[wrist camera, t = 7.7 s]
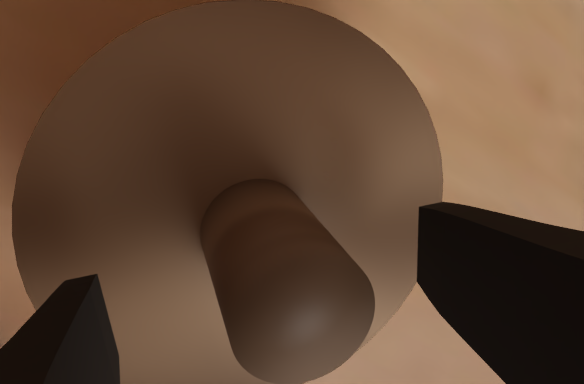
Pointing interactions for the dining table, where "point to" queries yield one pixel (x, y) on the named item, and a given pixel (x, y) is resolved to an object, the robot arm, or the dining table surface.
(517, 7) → the dining table surface
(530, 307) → the robot arm
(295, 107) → the lid
